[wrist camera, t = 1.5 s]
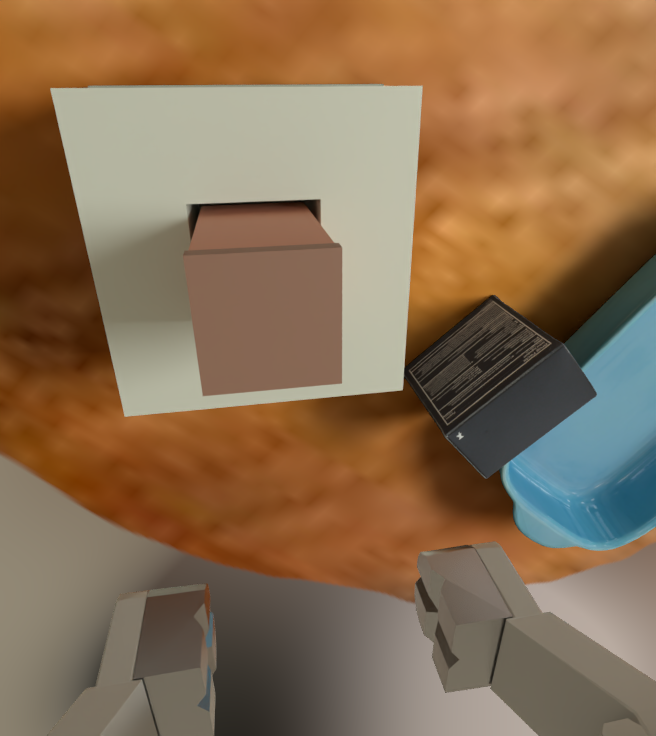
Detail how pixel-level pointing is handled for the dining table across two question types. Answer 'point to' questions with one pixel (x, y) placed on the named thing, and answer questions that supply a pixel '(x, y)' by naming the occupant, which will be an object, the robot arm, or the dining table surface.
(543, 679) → the robot arm
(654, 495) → the casserole dish
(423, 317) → the dining table surface
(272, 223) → the plunger
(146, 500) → the dining table surface
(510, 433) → the small box
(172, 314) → the housing
